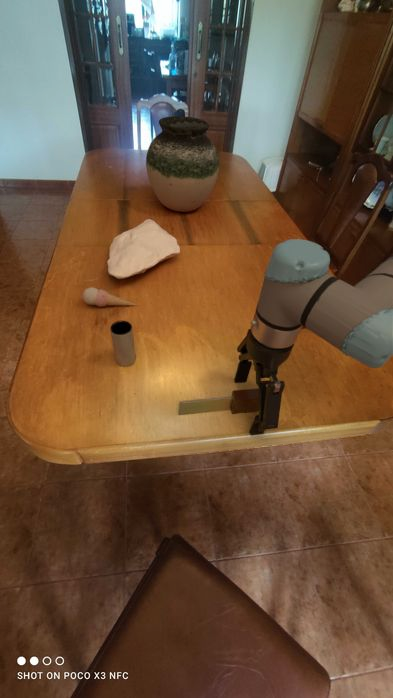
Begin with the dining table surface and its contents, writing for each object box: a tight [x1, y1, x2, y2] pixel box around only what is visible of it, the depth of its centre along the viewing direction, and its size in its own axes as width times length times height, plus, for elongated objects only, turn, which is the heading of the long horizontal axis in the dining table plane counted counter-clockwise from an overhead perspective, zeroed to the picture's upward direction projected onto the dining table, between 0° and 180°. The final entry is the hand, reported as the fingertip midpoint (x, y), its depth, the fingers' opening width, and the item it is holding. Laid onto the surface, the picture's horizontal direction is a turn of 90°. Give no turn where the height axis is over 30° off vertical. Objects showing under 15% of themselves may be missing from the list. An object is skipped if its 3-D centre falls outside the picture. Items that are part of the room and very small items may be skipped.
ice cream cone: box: [82, 287, 139, 308], centre depth 86 cm, size 5×5×15 cm
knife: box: [178, 387, 258, 416], centre depth 65 cm, size 19×2×5 cm, turn 99°
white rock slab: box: [107, 218, 181, 280], centre depth 101 cm, size 24×35×9 cm
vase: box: [145, 115, 220, 213], centre depth 124 cm, size 28×28×30 cm
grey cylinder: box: [109, 320, 137, 367], centre depth 71 cm, size 4×4×10 cm
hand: (247, 405), depth 68 cm, fingers open, 12 cm apart
